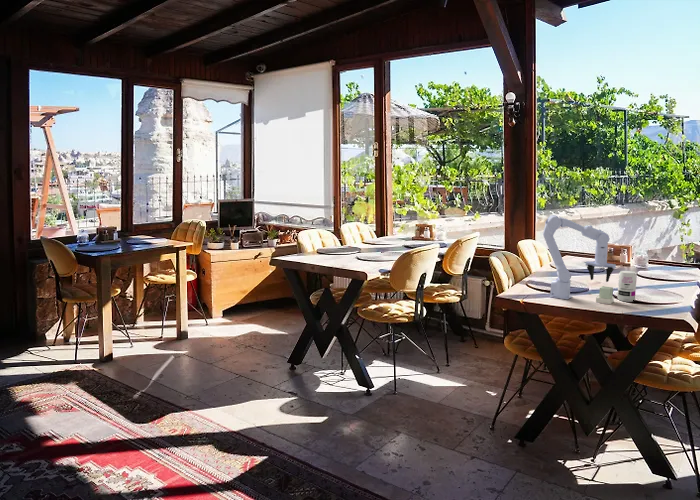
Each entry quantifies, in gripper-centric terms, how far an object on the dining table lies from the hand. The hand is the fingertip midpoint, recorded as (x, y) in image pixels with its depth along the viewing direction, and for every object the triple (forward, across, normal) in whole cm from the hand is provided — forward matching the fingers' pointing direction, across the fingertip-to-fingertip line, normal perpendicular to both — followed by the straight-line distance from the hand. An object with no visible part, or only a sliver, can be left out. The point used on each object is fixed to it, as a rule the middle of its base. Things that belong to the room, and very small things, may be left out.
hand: (599, 280), depth 300 cm
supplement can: (+10, +12, +6) cm, 17 cm away
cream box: (+10, +4, -4) cm, 12 cm away
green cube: (+7, +5, -5) cm, 10 cm away
